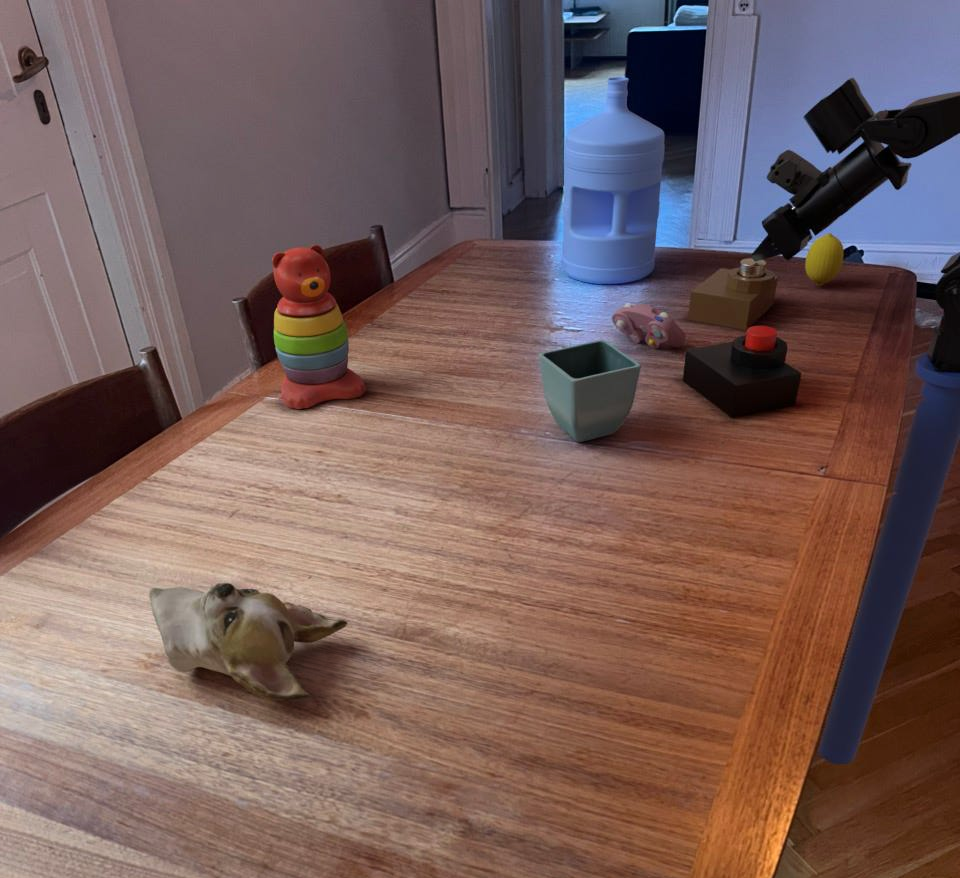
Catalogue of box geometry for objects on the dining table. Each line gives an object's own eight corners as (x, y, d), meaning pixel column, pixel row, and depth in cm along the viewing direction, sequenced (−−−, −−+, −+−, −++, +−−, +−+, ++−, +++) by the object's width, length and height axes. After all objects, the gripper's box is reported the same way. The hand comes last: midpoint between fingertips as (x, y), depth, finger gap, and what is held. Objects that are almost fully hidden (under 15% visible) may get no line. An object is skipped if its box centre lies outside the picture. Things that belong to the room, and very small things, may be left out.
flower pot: (570, 454, 105) (573, 380, 99) (536, 424, 111) (537, 352, 105) (637, 438, 107) (643, 364, 102) (600, 409, 114) (603, 338, 108)
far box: (779, 305, 140) (786, 265, 136) (752, 331, 132) (759, 289, 128) (717, 295, 144) (722, 256, 140) (687, 320, 136) (692, 278, 133)
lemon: (808, 278, 149) (818, 226, 144) (842, 284, 146) (853, 231, 141) (795, 288, 145) (805, 235, 140) (830, 294, 143) (841, 240, 138)
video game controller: (614, 348, 133) (603, 310, 127) (632, 325, 134) (622, 288, 128) (672, 364, 127) (663, 327, 122) (690, 341, 128) (682, 303, 123)
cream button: (767, 274, 134) (769, 260, 133) (758, 281, 132) (761, 267, 131) (743, 271, 136) (745, 256, 134) (734, 278, 133) (736, 263, 132)
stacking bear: (289, 412, 116) (264, 267, 105) (270, 383, 123) (244, 245, 112) (370, 395, 119) (354, 253, 108) (346, 368, 126) (329, 232, 115)
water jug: (553, 259, 161) (557, 74, 143) (641, 254, 162) (655, 68, 144) (570, 288, 149) (576, 89, 131) (664, 282, 150) (683, 84, 132)
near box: (748, 368, 122) (755, 323, 118) (802, 404, 113) (811, 357, 109) (682, 380, 120) (687, 335, 116) (731, 418, 111) (738, 370, 107)
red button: (763, 339, 115) (766, 323, 114) (780, 350, 112) (783, 333, 111) (738, 344, 114) (741, 328, 113) (754, 354, 111) (757, 338, 110)
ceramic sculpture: (176, 536, 77) (345, 563, 75) (194, 616, 83) (352, 643, 80) (110, 613, 69) (297, 645, 67) (135, 695, 75) (308, 728, 73)
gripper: (834, 117, 125) (743, 196, 137) (790, 144, 113) (695, 228, 125) (879, 186, 127) (786, 258, 139) (841, 220, 115) (742, 295, 127)
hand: (753, 258), depth 132 cm, fingers closed
